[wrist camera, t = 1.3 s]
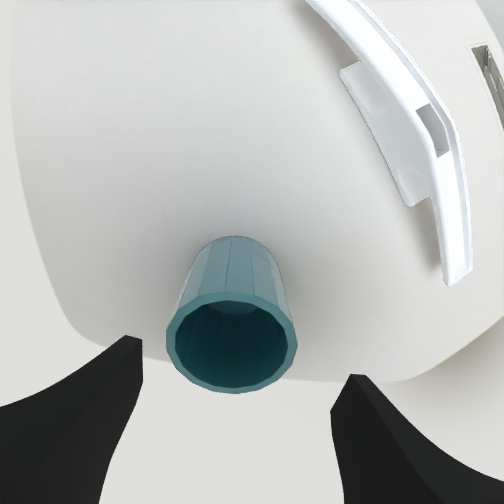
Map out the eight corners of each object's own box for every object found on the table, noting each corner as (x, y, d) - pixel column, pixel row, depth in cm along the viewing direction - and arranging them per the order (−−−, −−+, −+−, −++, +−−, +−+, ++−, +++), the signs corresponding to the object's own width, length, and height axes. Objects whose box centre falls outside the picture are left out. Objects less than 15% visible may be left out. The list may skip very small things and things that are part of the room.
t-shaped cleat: (338, -16, 12) (368, -59, 7) (466, 243, 18) (513, 271, 13) (285, 2, 13) (300, -45, 8) (428, 271, 19) (471, 308, 14)
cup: (206, 322, 20) (192, 400, 13) (179, 248, 18) (145, 307, 11) (286, 305, 19) (305, 380, 13) (268, 226, 17) (282, 277, 11)
